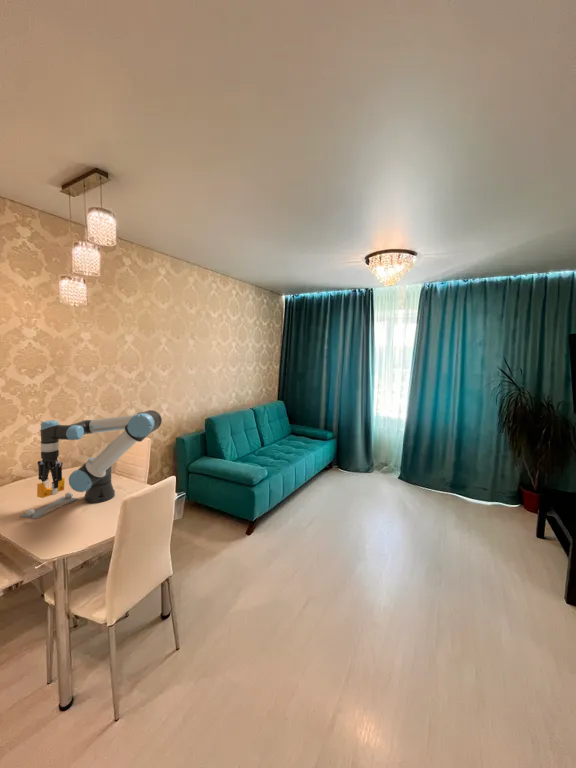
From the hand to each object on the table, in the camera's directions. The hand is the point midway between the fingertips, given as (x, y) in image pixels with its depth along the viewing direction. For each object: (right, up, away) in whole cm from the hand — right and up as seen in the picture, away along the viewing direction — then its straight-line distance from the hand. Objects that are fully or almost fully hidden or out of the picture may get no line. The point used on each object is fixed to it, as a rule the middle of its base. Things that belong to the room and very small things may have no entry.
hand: (50, 493), depth 170 cm
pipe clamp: (0, 0, +1) cm, 1 cm away
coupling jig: (0, -8, 0) cm, 8 cm away
